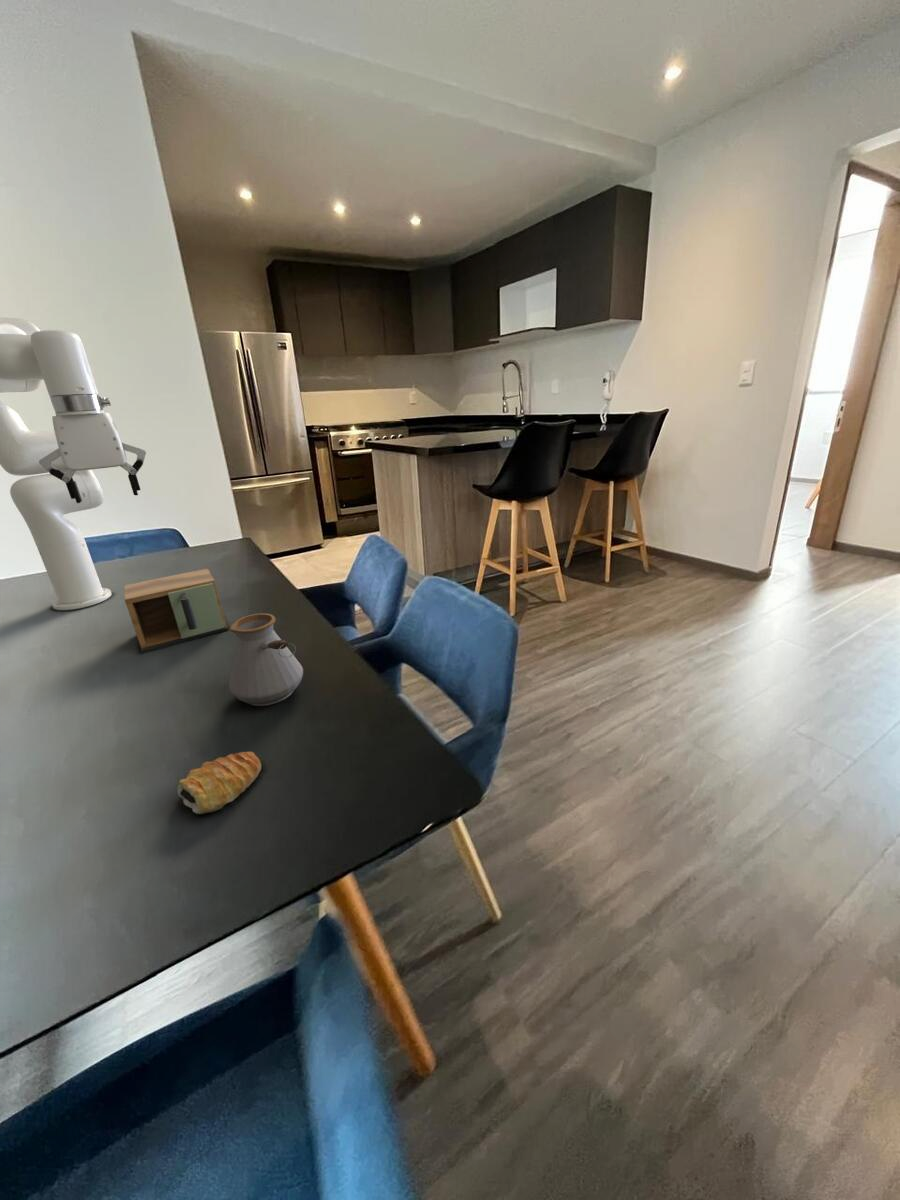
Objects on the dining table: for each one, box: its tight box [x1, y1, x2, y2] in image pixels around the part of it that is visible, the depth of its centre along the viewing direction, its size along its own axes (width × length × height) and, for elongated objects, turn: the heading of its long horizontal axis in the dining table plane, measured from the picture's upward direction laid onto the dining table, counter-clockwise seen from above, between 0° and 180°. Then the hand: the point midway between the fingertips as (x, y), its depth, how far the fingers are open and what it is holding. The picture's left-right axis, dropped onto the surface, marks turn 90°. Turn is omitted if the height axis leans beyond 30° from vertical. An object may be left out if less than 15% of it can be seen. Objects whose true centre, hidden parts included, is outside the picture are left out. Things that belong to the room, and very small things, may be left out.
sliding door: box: [168, 583, 224, 639], centre depth 99 cm, size 5×8×10 cm, turn 122°
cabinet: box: [124, 568, 229, 653], centre depth 103 cm, size 11×16×11 cm
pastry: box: [176, 751, 262, 815], centre depth 60 cm, size 9×7×4 cm
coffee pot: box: [228, 613, 304, 707], centre depth 74 cm, size 21×12×15 cm, turn 37°
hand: (108, 498), depth 98 cm, fingers open, 9 cm apart
